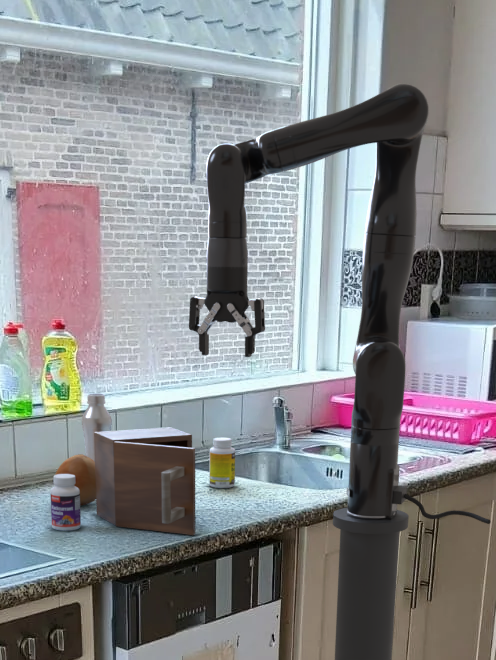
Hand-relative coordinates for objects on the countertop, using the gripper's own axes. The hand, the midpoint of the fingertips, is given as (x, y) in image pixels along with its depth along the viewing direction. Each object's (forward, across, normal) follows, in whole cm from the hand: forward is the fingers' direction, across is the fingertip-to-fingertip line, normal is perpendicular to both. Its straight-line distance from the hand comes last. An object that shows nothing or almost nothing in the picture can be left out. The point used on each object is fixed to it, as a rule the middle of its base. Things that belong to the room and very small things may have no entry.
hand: (226, 355), depth 226 cm
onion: (+30, +30, +3) cm, 43 cm away
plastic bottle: (+30, +32, -11) cm, 45 cm away
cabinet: (+30, +14, +8) cm, 34 cm away
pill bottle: (+30, +24, +22) cm, 44 cm away
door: (+30, +8, +22) cm, 38 cm away
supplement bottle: (+30, +9, -25) cm, 40 cm away
